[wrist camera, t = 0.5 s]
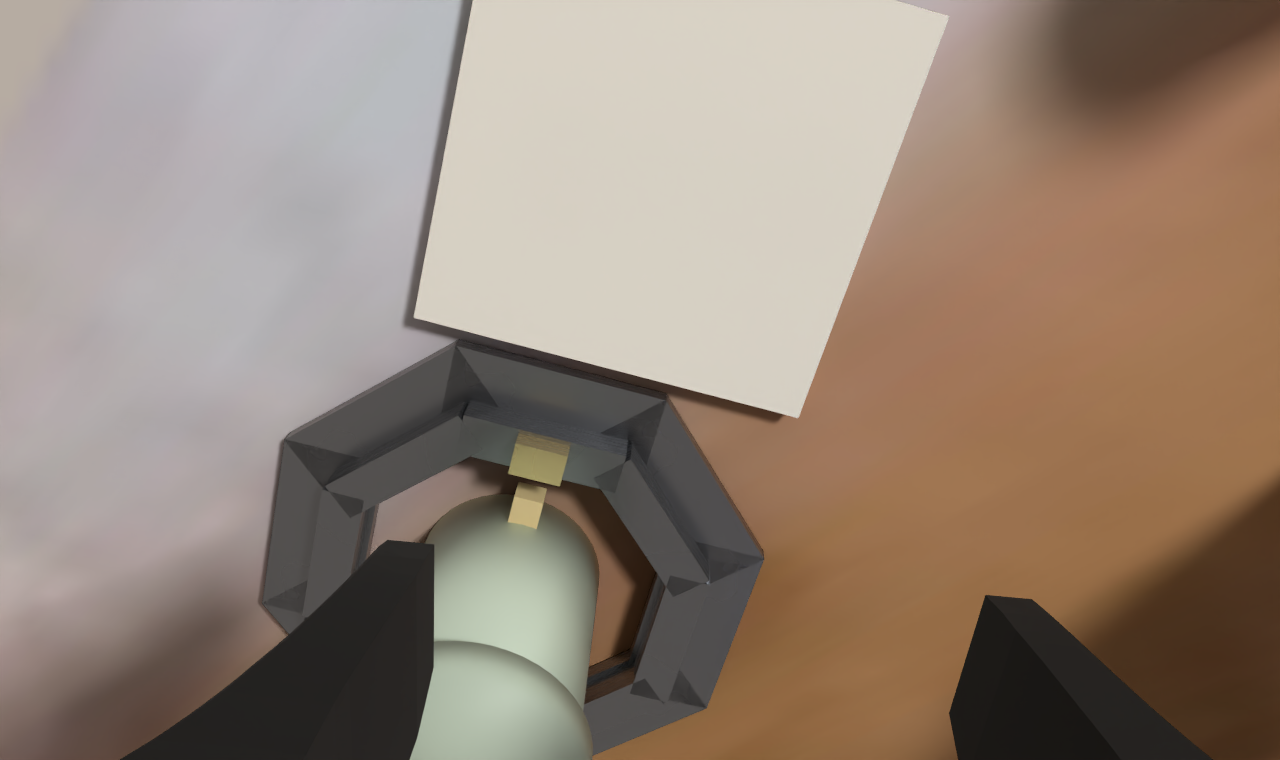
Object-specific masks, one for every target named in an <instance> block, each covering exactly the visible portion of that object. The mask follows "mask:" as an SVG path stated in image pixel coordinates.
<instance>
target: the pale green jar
mask: <svg viewBox="0 0 1280 760" xmlns="http://www.w3.org/2000/svg"><path fill="white" fill-rule="evenodd" d="M546 491H547V489H546V488H542V487H538V486H534V485H530V484H526V483H522V482H518V485H517V489H516V492H515V495H508V494H502V495H489V496H483V497H479V498H475V499H472V500H469V501H467V502H464V503H462V504H460V505H458V506H457V507H455V508H453V509H451V510H450V511H449V512H448V513H446V514H445V515H444V516H443V517H442V518H441V519H440V520H439V521H438V522H437V523H436V524H435V526H434V527H433V528H432V530H431V531H430V533H429V535H428V537H427V539H426V541H425V544H434V668H433V673H432V677H431V681H430V686H429V690H428V695H427V699H426V703H425V708H424V712H423V716H422V720H421V724H420V728H419V732H418V737H417V740H416V743H415V746H414V749H413V751H412V754H411V757H410V760H592V755H593V744H592V735H591V731H590V728H589V724H588V721H587V719H586V717H585V715H584V712H583V709H584V701H585V693H586V684H587V676H588V668H589V660H590V652H591V643H592V635H593V627H594V619H595V611H596V602H597V594H598V586H599V564H598V560H597V556H596V553H595V550H594V548H593V546H592V544H591V542H590V540H589V539H588V537H587V535H586V534H585V533H584V532H583V530H582V529H581V528H580V527H579V526H578V525H577V524H576V523H575V522H574V521H573V520H572V519H571V518H570V517H568V516H567V515H566V514H564V513H563V512H562V511H560V510H558V509H557V508H555V507H553V506H551V505H549V504H547V503H544V499H545V495H546Z"/></svg>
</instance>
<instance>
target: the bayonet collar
mask: <svg viewBox="0 0 1280 760" xmlns="http://www.w3.org/2000/svg"><path fill="white" fill-rule="evenodd" d="M468 457H474V458H478V459H482V460H486V461H490V462H494V463H498V464H502V465H506V466H510V468H509V472H508V474H511V475H515V476H519V477H523V478H527V479H531V480H535V481H539V482H543V483H547V484H551V485H555V486H559V487H560V484H561V480H566V481H570V482H574V483H578V484H581V485H585V486H589V487H593V488H597V489H601V490H602V492H603V493H604V495H605V496H606V498H607V499H608V501H609V502H610V504H611V505H612V507H613V508H614V510H615V511H616V513H617V514H618V516H619V517H620V519H621V520H622V522H623V523H624V525H625V526H626V528H627V529H628V531H629V532H630V534H631V535H632V537H633V538H634V540H635V541H636V542H637V544H638V545H639V547H640V548H641V550H642V551H643V553H644V554H645V556H646V557H647V559H648V560H649V562H650V563H651V565H652V566H653V568H654V569H655V571H656V574H655V577H654V580H653V583H652V586H651V589H650V592H649V595H648V598H647V601H646V604H645V607H644V610H643V613H642V616H641V619H640V622H639V625H638V628H637V631H636V634H635V637H634V640H633V643H632V646H631V649H630V650H628V651H626V652H623V653H621V654H619V655H616V656H614V657H612V658H610V659H607V660H605V661H603V662H601V663H598V664H596V665H594V666H591V667H589V668H588V676H587V684H586V693H585V701H584V709H583V712H584V715H585V717H586V719H587V721H588V724H589V728H590V731H591V735H592V744H593V755H595V754H598V753H600V752H603V751H605V750H607V749H610V748H612V747H615V746H617V745H619V744H622V743H624V742H627V741H629V740H632V739H634V738H636V737H639V736H641V735H644V734H646V733H648V732H651V731H653V730H656V729H658V728H660V727H663V726H665V725H668V724H670V723H672V722H675V721H677V720H680V719H682V718H684V717H687V716H689V715H692V714H694V713H696V712H699V711H701V710H704V709H706V708H707V706H708V703H709V700H710V698H711V695H712V693H713V690H714V687H715V685H716V682H717V680H718V677H719V675H720V672H721V669H722V667H723V664H724V662H725V659H726V656H727V654H728V651H729V649H730V646H731V643H732V641H733V638H734V636H735V633H736V630H737V628H738V625H739V623H740V620H741V617H742V615H743V612H744V610H745V607H746V605H747V602H748V599H749V597H750V594H751V592H752V589H753V586H754V584H755V581H756V579H757V576H758V573H759V571H760V568H761V566H762V563H763V560H764V554H763V549H762V548H761V546H760V545H759V543H758V542H757V540H756V538H755V537H754V535H753V533H752V532H751V530H750V529H749V527H748V525H747V524H746V522H745V520H744V519H743V517H742V516H741V514H740V512H739V511H738V509H737V507H736V506H735V504H734V503H733V501H732V499H731V498H730V496H729V494H728V493H727V491H726V490H725V488H724V486H723V485H722V483H721V481H720V480H719V478H718V477H717V475H716V473H715V472H714V470H713V468H712V467H711V465H710V464H709V462H708V460H707V459H706V457H705V455H704V454H703V452H702V451H701V449H700V447H699V446H698V444H697V442H696V441H695V439H694V438H693V436H692V434H691V433H690V431H689V429H688V428H687V426H686V425H685V423H684V421H683V420H682V418H681V416H680V415H679V413H678V412H677V410H676V408H675V407H674V405H673V403H672V402H671V400H670V399H669V397H668V395H667V393H663V392H659V391H656V390H652V389H648V388H644V387H640V386H636V385H632V384H629V383H625V382H621V381H617V380H613V379H609V378H606V377H602V376H598V375H594V374H590V373H586V372H583V371H579V370H575V369H571V368H567V367H563V366H560V365H556V364H552V363H548V362H544V361H540V360H536V359H533V358H529V357H525V356H521V355H517V354H513V353H510V352H506V351H502V350H498V349H494V348H490V347H487V346H483V345H479V344H475V343H471V342H467V341H464V340H460V339H459V340H457V341H456V342H454V343H452V344H450V345H448V346H446V347H445V348H443V349H441V350H439V351H437V352H436V353H434V354H432V355H430V356H428V357H426V358H425V359H423V360H421V361H419V362H417V363H415V364H414V365H412V366H410V367H408V368H406V369H405V370H403V371H401V372H399V373H397V374H395V375H394V376H392V377H390V378H388V379H386V380H385V381H383V382H381V383H379V384H377V385H375V386H374V387H372V388H370V389H368V390H366V391H364V392H363V393H361V394H359V395H357V396H355V397H354V398H352V399H350V400H348V401H346V402H344V403H343V404H341V405H339V406H337V407H335V408H334V409H332V410H330V411H328V412H326V413H324V414H323V415H321V416H319V417H317V418H315V419H313V420H312V421H310V422H308V423H306V424H304V425H303V426H301V427H299V428H297V429H295V430H293V431H292V432H290V433H289V434H288V436H287V437H286V438H285V439H284V448H283V455H282V462H281V470H280V477H279V484H278V492H277V499H276V506H275V514H274V521H273V528H272V536H271V543H270V550H269V558H268V565H267V572H266V580H265V587H264V594H263V602H262V604H263V605H264V606H265V607H266V608H267V609H268V611H269V612H270V613H271V614H272V615H273V616H274V618H275V619H276V620H277V621H278V622H279V623H280V624H281V626H282V627H283V628H284V629H285V630H286V631H287V633H288V634H290V633H291V632H292V631H293V630H294V629H295V628H297V627H298V626H299V625H300V624H301V623H302V622H303V621H304V620H305V619H306V618H307V617H308V616H310V615H311V614H312V613H313V612H314V611H315V610H316V609H317V608H318V607H319V606H320V605H321V604H322V603H323V602H325V601H326V600H327V599H328V598H329V597H330V596H331V595H332V594H333V593H334V592H335V591H336V590H337V589H338V588H339V587H340V586H341V585H342V584H343V583H344V582H345V581H346V580H347V579H348V578H349V577H350V576H351V575H352V574H353V573H354V572H355V571H356V570H357V569H358V568H359V567H360V566H361V565H362V563H363V562H364V561H365V560H366V559H367V558H368V557H369V555H370V549H371V544H372V538H373V533H374V528H375V522H376V517H377V512H378V506H379V503H381V502H383V501H385V500H387V499H389V498H390V497H392V496H394V495H396V494H398V493H400V492H402V491H404V490H406V489H408V488H410V487H412V486H414V485H416V484H418V483H420V482H422V481H424V480H425V479H427V478H429V477H431V476H433V475H435V474H437V473H439V472H441V471H443V470H445V469H447V468H449V467H451V466H453V465H455V464H457V463H459V462H460V461H462V460H464V459H466V458H468ZM593 755H592V756H593Z"/></svg>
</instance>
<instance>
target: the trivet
mask: <svg viewBox="0 0 1280 760" xmlns="http://www.w3.org/2000/svg"><path fill="white" fill-rule="evenodd" d="M948 19H949V16H946V15H943V14H940V13H936V12H933V11H930V10H926V9H923V8H919V7H916V6H913V5H909V4H906V3H903V2H899V1H896V0H473V2H472V7H471V13H470V18H469V23H468V29H467V34H466V40H465V45H464V50H463V56H462V61H461V66H460V72H459V77H458V82H457V88H456V93H455V98H454V104H453V109H452V115H451V120H450V125H449V131H448V136H447V141H446V147H445V152H444V157H443V163H442V168H441V173H440V179H439V184H438V190H437V195H436V200H435V206H434V211H433V216H432V222H431V227H430V232H429V238H428V243H427V248H426V254H425V259H424V264H423V270H422V275H421V281H420V286H419V291H418V297H417V302H416V307H415V313H414V318H417V319H421V320H424V321H428V322H432V323H436V324H440V325H444V326H447V327H451V328H455V329H459V330H463V331H467V332H470V333H474V334H478V335H482V336H486V337H490V338H493V339H497V340H501V341H505V342H509V343H513V344H516V345H520V346H524V347H528V348H532V349H535V350H539V351H543V352H547V353H551V354H555V355H558V356H562V357H566V358H570V359H574V360H578V361H581V362H585V363H589V364H593V365H597V366H601V367H604V368H608V369H612V370H616V371H620V372H624V373H627V374H631V375H635V376H639V377H643V378H647V379H650V380H654V381H658V382H662V383H666V384H670V385H673V386H677V387H681V388H685V389H689V390H692V391H696V392H700V393H704V394H708V395H712V396H715V397H719V398H723V399H727V400H731V401H735V402H738V403H742V404H746V405H750V406H754V407H758V408H761V409H765V410H769V411H773V412H777V413H781V414H784V415H788V416H792V417H796V418H798V417H799V415H800V412H801V409H802V407H803V404H804V401H805V399H806V396H807V393H808V391H809V388H810V385H811V383H812V380H813V377H814V375H815V372H816V369H817V367H818V364H819V361H820V359H821V356H822V354H823V351H824V348H825V346H826V343H827V340H828V338H829V335H830V332H831V330H832V327H833V324H834V322H835V319H836V316H837V314H838V311H839V308H840V306H841V303H842V300H843V298H844V295H845V292H846V290H847V287H848V284H849V282H850V279H851V276H852V274H853V271H854V268H855V266H856V263H857V260H858V258H859V255H860V252H861V250H862V247H863V245H864V242H865V239H866V237H867V234H868V231H869V229H870V226H871V223H872V221H873V218H874V215H875V213H876V210H877V207H878V205H879V202H880V199H881V197H882V194H883V191H884V189H885V186H886V183H887V181H888V178H889V175H890V173H891V170H892V167H893V165H894V162H895V159H896V157H897V154H898V151H899V149H900V146H901V143H902V141H903V138H904V135H905V133H906V130H907V128H908V125H909V122H910V120H911V117H912V114H913V112H914V109H915V106H916V104H917V101H918V98H919V96H920V93H921V90H922V88H923V85H924V82H925V80H926V77H927V74H928V72H929V69H930V66H931V64H932V61H933V58H934V56H935V53H936V50H937V48H938V45H939V42H940V40H941V37H942V34H943V32H944V29H945V26H946V24H947V21H948Z"/></svg>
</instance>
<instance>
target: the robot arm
mask: <svg viewBox="0 0 1280 760" xmlns="http://www.w3.org/2000/svg"><path fill="white" fill-rule="evenodd" d="M433 668H434V544H425V543H414V542H403V541H393V540H387V541H386V542H384V543H383V544H382V545H380V546H379V547H378V548H377V549H376V550H375V551H374V552H373V553H372V554H371V555H370V556H369V557H368V558H367V559H366V560H365V561H364V562H363V563H362V565H361V566H360V567H359V568H358V569H357V570H356V571H355V572H354V573H353V574H352V575H351V576H350V577H349V578H348V579H347V580H346V581H345V582H344V583H343V584H342V585H341V586H340V587H339V588H338V589H337V590H336V591H335V592H334V593H333V594H332V595H331V596H330V597H329V598H328V599H327V600H326V601H325V602H323V603H322V604H321V605H320V606H319V607H318V608H317V609H316V610H315V611H314V612H313V613H312V614H311V615H310V616H308V617H307V618H306V619H305V620H304V621H303V622H302V623H301V624H300V625H299V626H298V627H297V628H295V629H294V630H293V631H292V632H291V633H290V634H289V635H288V636H287V637H286V638H285V639H283V640H282V641H281V642H280V643H279V644H278V645H277V646H275V647H274V648H273V649H272V650H271V651H269V652H268V653H267V654H266V655H265V656H263V657H262V658H261V659H260V660H259V661H257V662H256V663H255V664H254V665H253V666H251V667H250V668H249V669H248V670H247V671H245V672H244V673H243V674H242V675H241V676H239V677H238V678H237V679H236V680H235V681H233V682H232V683H231V684H230V685H228V686H227V687H226V688H224V689H223V690H222V691H221V692H219V693H218V694H217V695H215V696H214V697H213V698H211V699H210V700H209V701H207V702H206V703H205V704H203V705H202V706H201V707H199V708H198V709H196V710H195V711H194V712H192V713H191V714H189V715H188V716H187V717H185V718H184V719H182V720H181V721H180V722H178V723H177V724H175V725H174V726H172V727H171V728H170V729H168V730H167V731H165V732H164V733H162V734H161V735H159V736H158V737H156V738H155V739H153V740H151V741H150V742H148V743H147V744H145V745H143V746H142V747H140V748H138V749H137V750H135V751H133V752H132V753H130V754H128V755H127V756H125V757H123V758H122V759H120V760H410V757H411V754H412V751H413V749H414V746H415V743H416V740H417V737H418V732H419V728H420V724H421V720H422V716H423V712H424V708H425V703H426V699H427V695H428V690H429V686H430V681H431V677H432V673H433ZM949 715H950V720H951V725H952V730H953V735H954V740H955V746H956V751H957V756H958V760H1213V759H1211V758H1210V757H1209V756H1208V755H1206V754H1205V753H1204V752H1203V751H1202V750H1200V749H1199V748H1198V747H1197V746H1195V745H1194V744H1193V743H1192V742H1191V741H1189V740H1188V739H1187V738H1186V737H1185V736H1184V735H1182V734H1181V733H1180V732H1179V731H1178V730H1177V729H1175V728H1174V727H1173V726H1172V725H1171V724H1170V723H1168V722H1167V721H1166V720H1165V719H1164V718H1163V717H1161V716H1160V715H1159V714H1158V713H1157V712H1156V711H1155V710H1154V709H1152V708H1151V707H1150V706H1149V705H1148V704H1147V703H1146V702H1145V701H1143V700H1142V699H1141V698H1140V697H1139V696H1138V695H1137V694H1136V693H1135V692H1133V691H1132V690H1131V689H1130V688H1129V687H1128V686H1127V685H1126V684H1125V683H1124V682H1122V681H1121V680H1120V679H1119V678H1118V677H1117V676H1116V675H1115V674H1114V673H1113V672H1112V671H1111V670H1109V669H1108V668H1107V667H1106V666H1105V665H1104V664H1103V663H1102V662H1101V661H1100V660H1099V659H1098V658H1097V657H1095V656H1094V655H1093V654H1092V653H1091V652H1090V651H1089V650H1088V649H1087V648H1086V647H1085V646H1084V645H1083V644H1081V643H1080V642H1079V641H1078V640H1077V639H1076V638H1075V637H1074V636H1073V635H1072V634H1071V633H1070V632H1068V631H1067V630H1066V629H1065V628H1064V627H1063V626H1062V625H1061V624H1060V623H1059V622H1058V621H1056V620H1055V619H1054V618H1053V617H1052V616H1051V615H1050V614H1049V613H1047V612H1046V611H1045V610H1044V609H1043V608H1042V607H1040V606H1039V605H1038V604H1037V603H1036V602H1034V601H1033V600H1032V599H1023V598H1012V597H1001V596H990V595H985V598H984V602H983V605H982V608H981V611H980V615H979V618H978V621H977V624H976V628H975V631H974V634H973V637H972V641H971V644H970V647H969V650H968V654H967V657H966V660H965V663H964V667H963V670H962V673H961V676H960V680H959V683H958V686H957V689H956V693H955V696H954V699H953V702H952V706H951V709H950V712H949Z"/></svg>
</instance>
